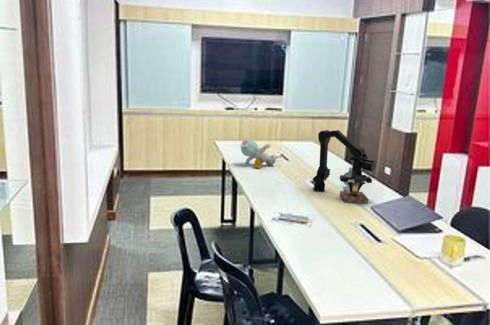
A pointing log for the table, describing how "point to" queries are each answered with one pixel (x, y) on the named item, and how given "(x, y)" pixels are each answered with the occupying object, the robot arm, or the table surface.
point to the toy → (256, 153)
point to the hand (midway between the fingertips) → (354, 192)
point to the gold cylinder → (354, 189)
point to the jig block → (353, 197)
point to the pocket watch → (346, 182)
